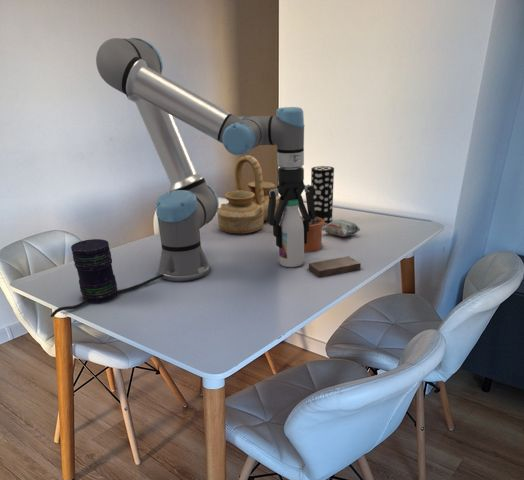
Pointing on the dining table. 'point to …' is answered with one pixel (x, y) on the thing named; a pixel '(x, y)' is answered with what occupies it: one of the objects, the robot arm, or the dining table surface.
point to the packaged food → (341, 228)
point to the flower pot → (314, 234)
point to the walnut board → (334, 266)
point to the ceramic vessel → (246, 202)
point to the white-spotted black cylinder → (323, 192)
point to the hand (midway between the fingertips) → (291, 244)
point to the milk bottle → (292, 236)
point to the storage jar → (95, 270)
